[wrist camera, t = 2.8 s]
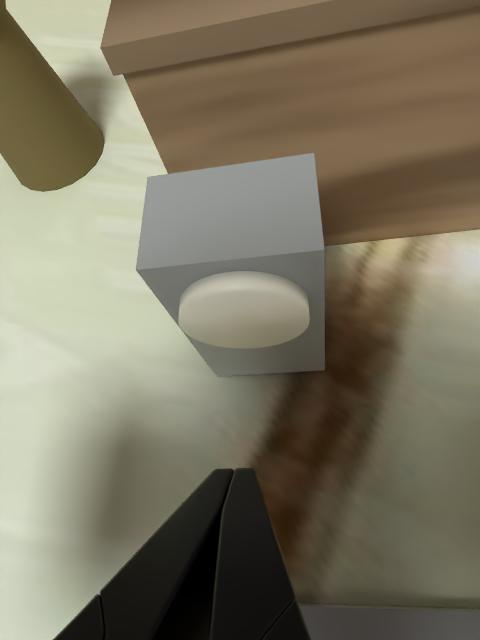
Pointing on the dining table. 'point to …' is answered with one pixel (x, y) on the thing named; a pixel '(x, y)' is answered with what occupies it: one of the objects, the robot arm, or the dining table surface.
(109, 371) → the dining table surface
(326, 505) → the dining table surface
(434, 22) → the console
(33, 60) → the cork
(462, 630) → the card
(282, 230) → the button
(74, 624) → the robot arm
